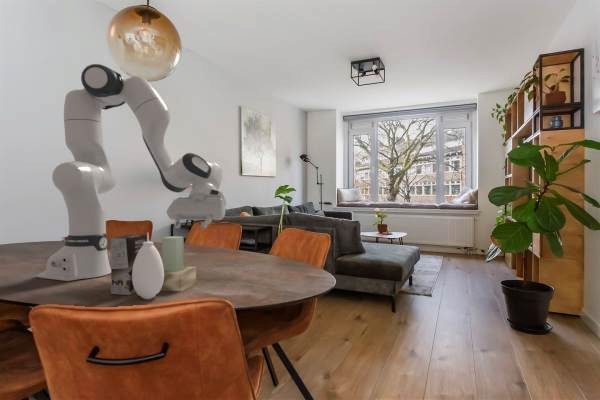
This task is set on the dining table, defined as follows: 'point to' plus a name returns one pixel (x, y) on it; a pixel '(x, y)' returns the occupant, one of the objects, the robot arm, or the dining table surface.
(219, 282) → the dining table surface
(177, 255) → the sage post
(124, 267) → the coffee box
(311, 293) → the dining table surface
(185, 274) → the base block
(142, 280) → the white air blower bulb
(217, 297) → the dining table surface
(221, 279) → the dining table surface
